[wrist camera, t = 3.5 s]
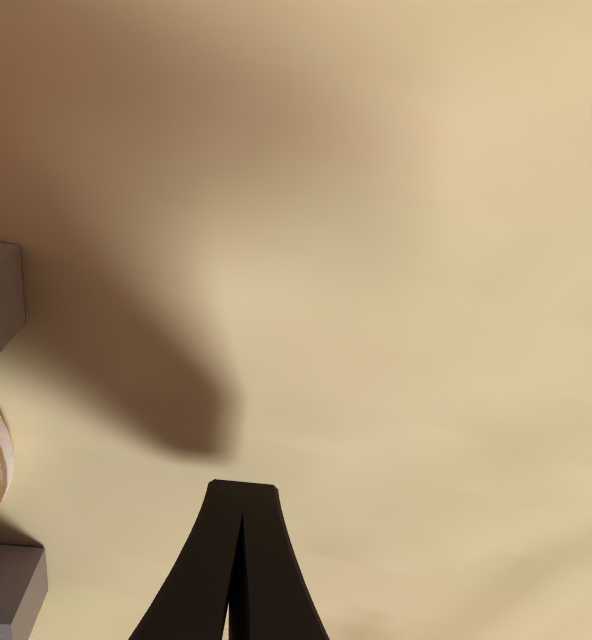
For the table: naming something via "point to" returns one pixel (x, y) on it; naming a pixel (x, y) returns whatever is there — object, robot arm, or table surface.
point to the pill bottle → (5, 460)
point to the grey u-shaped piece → (5, 560)
